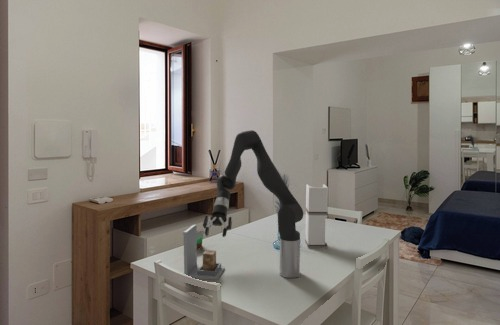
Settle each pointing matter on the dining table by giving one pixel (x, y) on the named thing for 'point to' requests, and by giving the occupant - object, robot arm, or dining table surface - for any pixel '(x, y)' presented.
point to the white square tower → (316, 216)
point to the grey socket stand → (191, 258)
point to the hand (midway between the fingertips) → (215, 235)
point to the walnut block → (209, 260)
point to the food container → (199, 238)
